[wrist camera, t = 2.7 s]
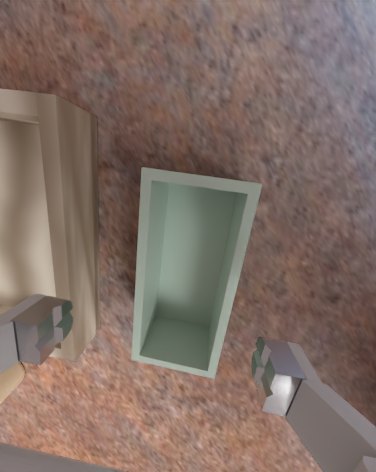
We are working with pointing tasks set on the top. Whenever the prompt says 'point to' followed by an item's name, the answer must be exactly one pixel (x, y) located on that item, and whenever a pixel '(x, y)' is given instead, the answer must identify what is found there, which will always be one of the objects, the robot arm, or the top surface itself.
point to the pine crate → (50, 209)
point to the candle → (10, 380)
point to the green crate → (188, 266)
